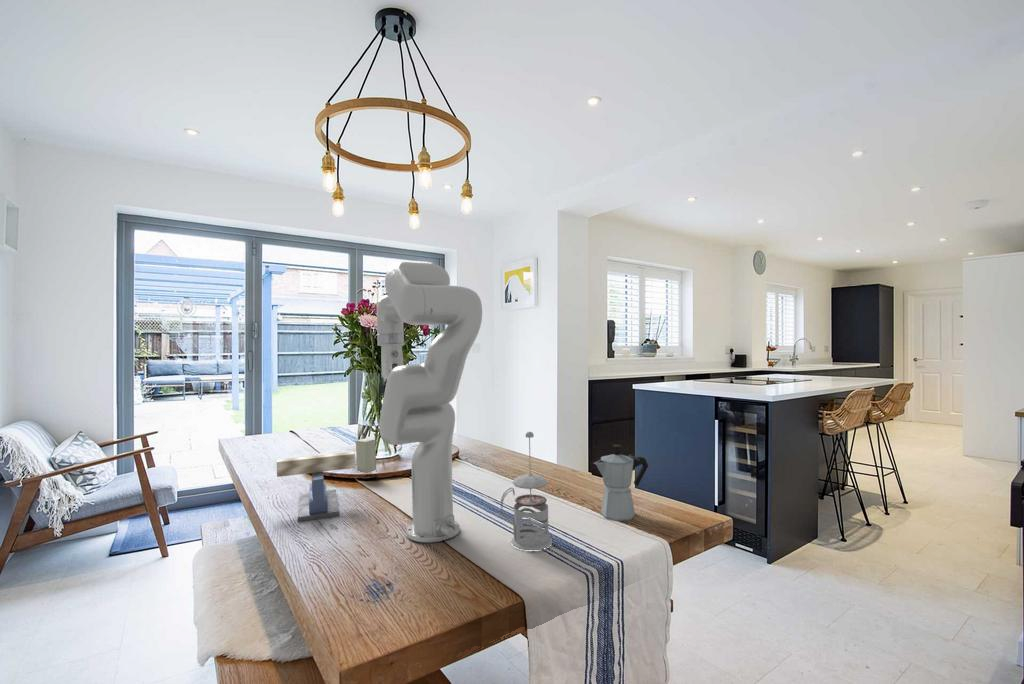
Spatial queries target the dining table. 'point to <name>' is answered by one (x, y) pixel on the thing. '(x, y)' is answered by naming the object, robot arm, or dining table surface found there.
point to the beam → (315, 464)
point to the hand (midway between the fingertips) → (392, 399)
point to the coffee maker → (619, 484)
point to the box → (366, 455)
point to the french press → (527, 534)
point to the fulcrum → (317, 501)
